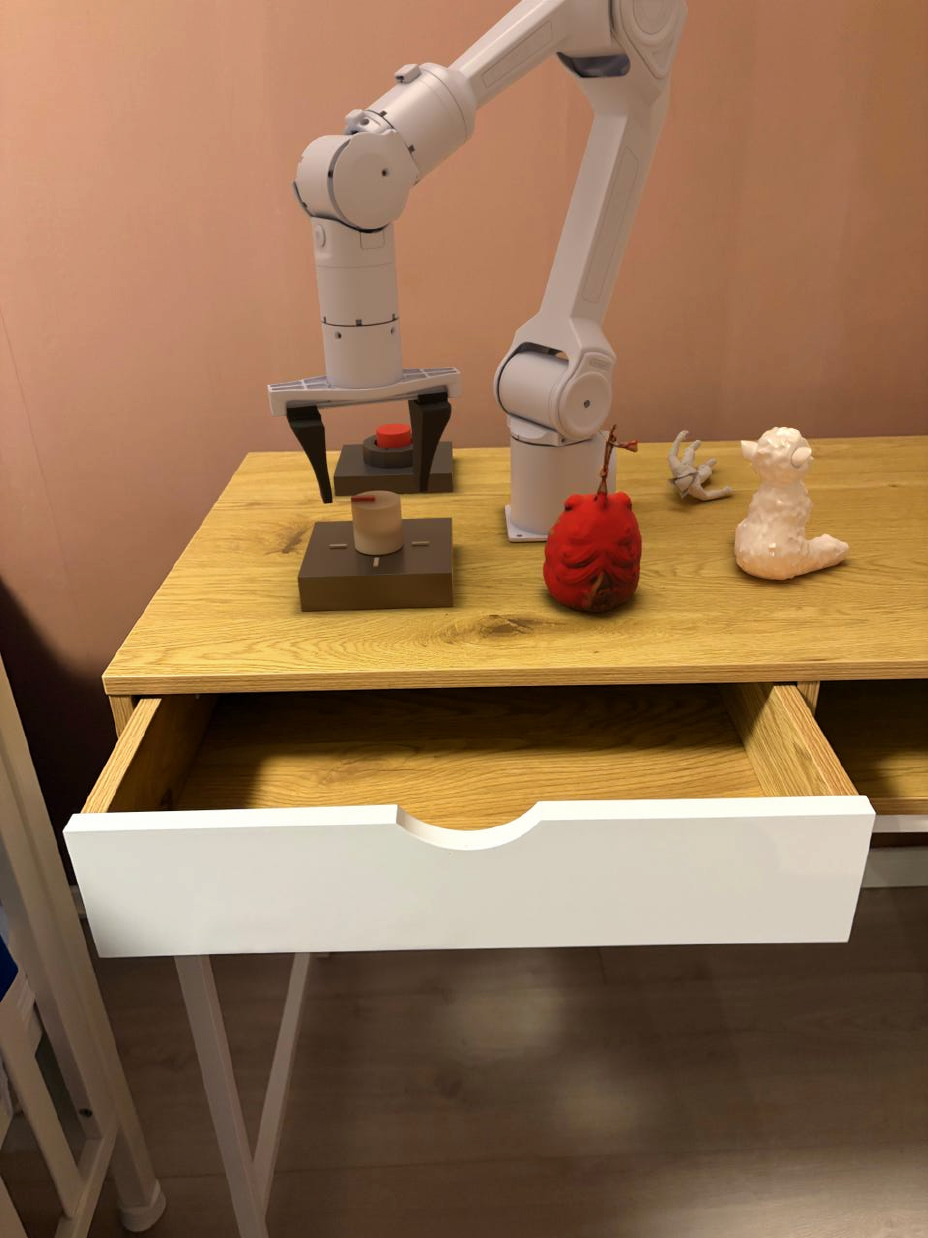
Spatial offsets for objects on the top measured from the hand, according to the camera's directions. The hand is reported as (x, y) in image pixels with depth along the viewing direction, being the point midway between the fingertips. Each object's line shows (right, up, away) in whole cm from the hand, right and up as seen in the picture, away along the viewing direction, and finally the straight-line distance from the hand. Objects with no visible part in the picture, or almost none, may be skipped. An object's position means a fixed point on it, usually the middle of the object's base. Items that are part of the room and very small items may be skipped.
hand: (374, 493), depth 75 cm
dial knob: (0, -4, +2) cm, 5 cm away
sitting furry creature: (+33, -6, +4) cm, 34 cm away
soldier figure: (+30, +3, +19) cm, 36 cm away
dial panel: (0, -7, +4) cm, 8 cm away
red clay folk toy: (+17, -9, -1) cm, 19 cm away
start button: (0, +8, +23) cm, 24 cm away
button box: (0, +5, +25) cm, 25 cm away
